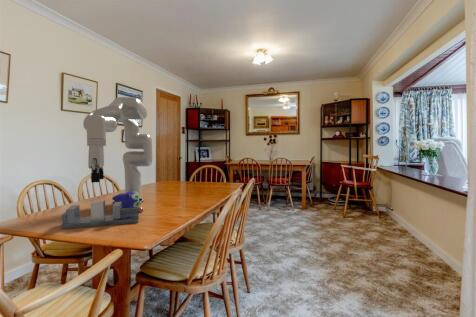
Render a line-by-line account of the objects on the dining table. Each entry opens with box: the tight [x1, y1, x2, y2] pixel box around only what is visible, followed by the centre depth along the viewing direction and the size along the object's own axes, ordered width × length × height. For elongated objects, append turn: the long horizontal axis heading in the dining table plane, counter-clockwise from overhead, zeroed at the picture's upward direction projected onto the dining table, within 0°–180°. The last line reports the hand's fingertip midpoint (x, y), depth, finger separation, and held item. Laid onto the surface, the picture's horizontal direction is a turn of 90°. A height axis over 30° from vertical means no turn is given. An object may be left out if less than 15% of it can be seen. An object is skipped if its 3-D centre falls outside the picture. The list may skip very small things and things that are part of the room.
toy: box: [111, 192, 142, 209], centre depth 146 cm, size 10×17×15 cm
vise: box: [61, 204, 140, 230], centre depth 121 cm, size 10×30×8 cm, turn 108°
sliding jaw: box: [112, 202, 144, 219], centre depth 125 cm, size 9×13×6 cm
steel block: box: [90, 199, 106, 221], centre depth 121 cm, size 5×5×8 cm
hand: (97, 180), depth 120 cm, fingers open, 9 cm apart
